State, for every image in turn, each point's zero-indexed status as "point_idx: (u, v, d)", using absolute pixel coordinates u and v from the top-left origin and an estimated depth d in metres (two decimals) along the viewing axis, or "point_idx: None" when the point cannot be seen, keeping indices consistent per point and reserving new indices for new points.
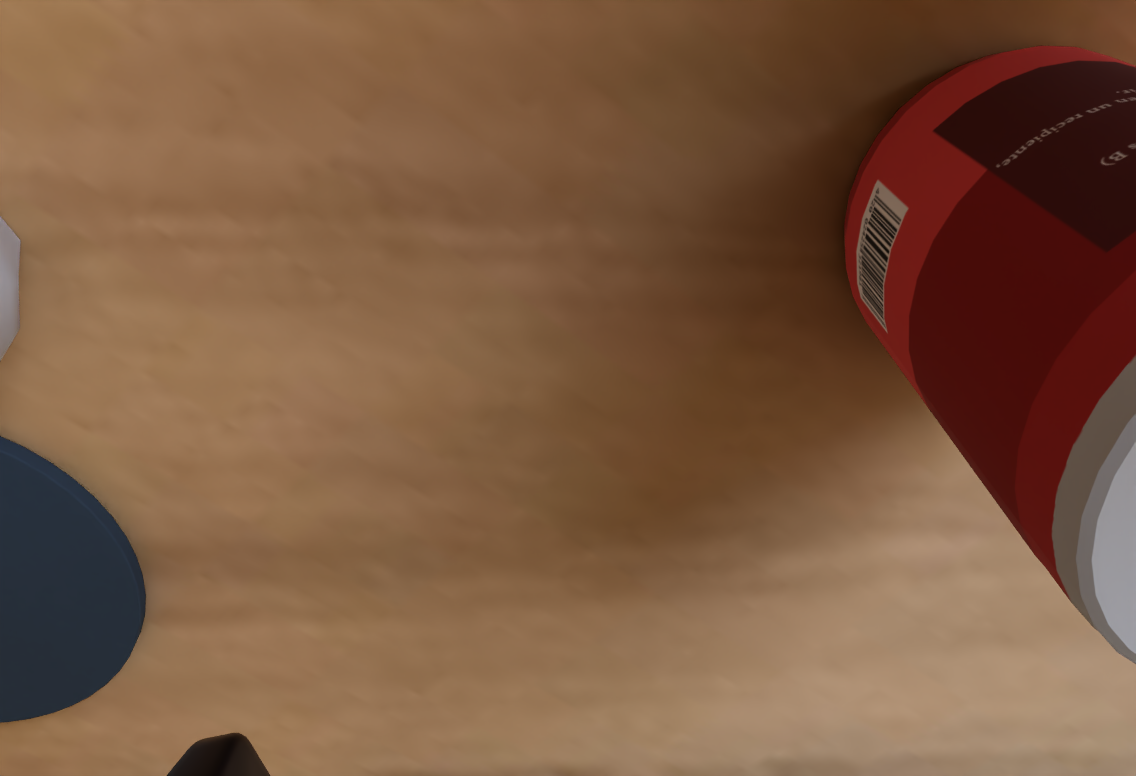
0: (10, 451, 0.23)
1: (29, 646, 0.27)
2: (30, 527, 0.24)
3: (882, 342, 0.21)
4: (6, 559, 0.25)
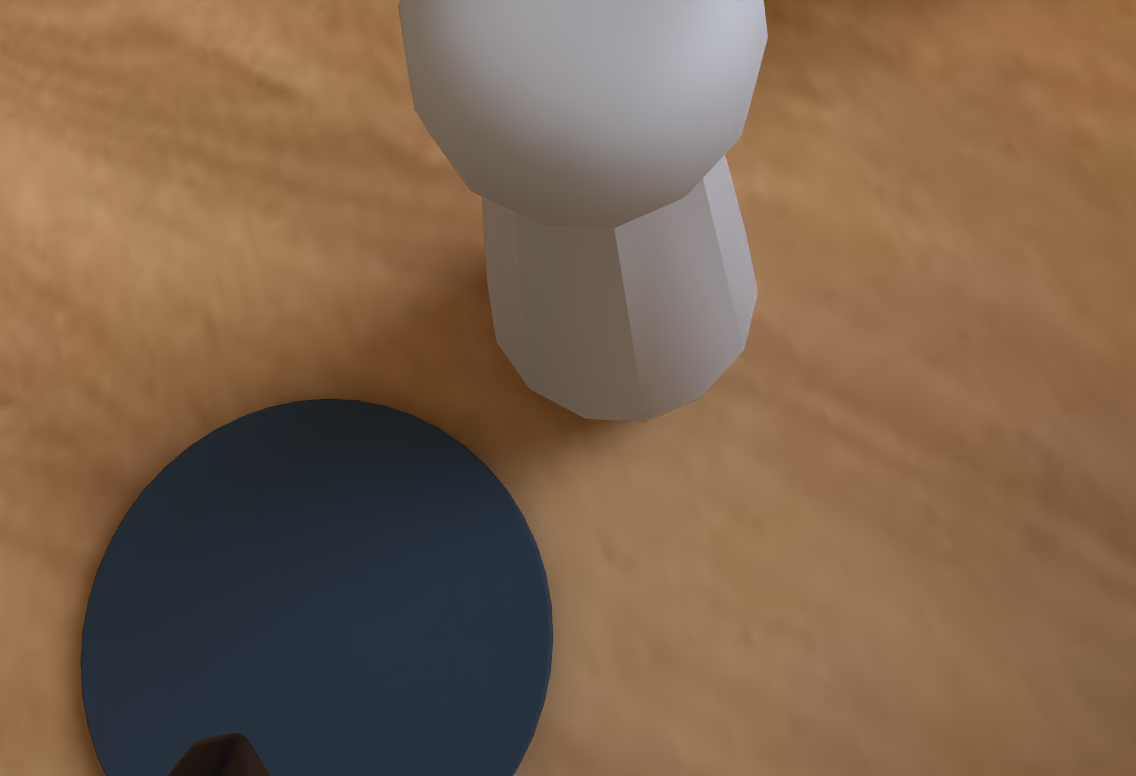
0: (529, 534, 0.21)
1: None
2: (475, 625, 0.21)
3: None
4: (417, 648, 0.21)
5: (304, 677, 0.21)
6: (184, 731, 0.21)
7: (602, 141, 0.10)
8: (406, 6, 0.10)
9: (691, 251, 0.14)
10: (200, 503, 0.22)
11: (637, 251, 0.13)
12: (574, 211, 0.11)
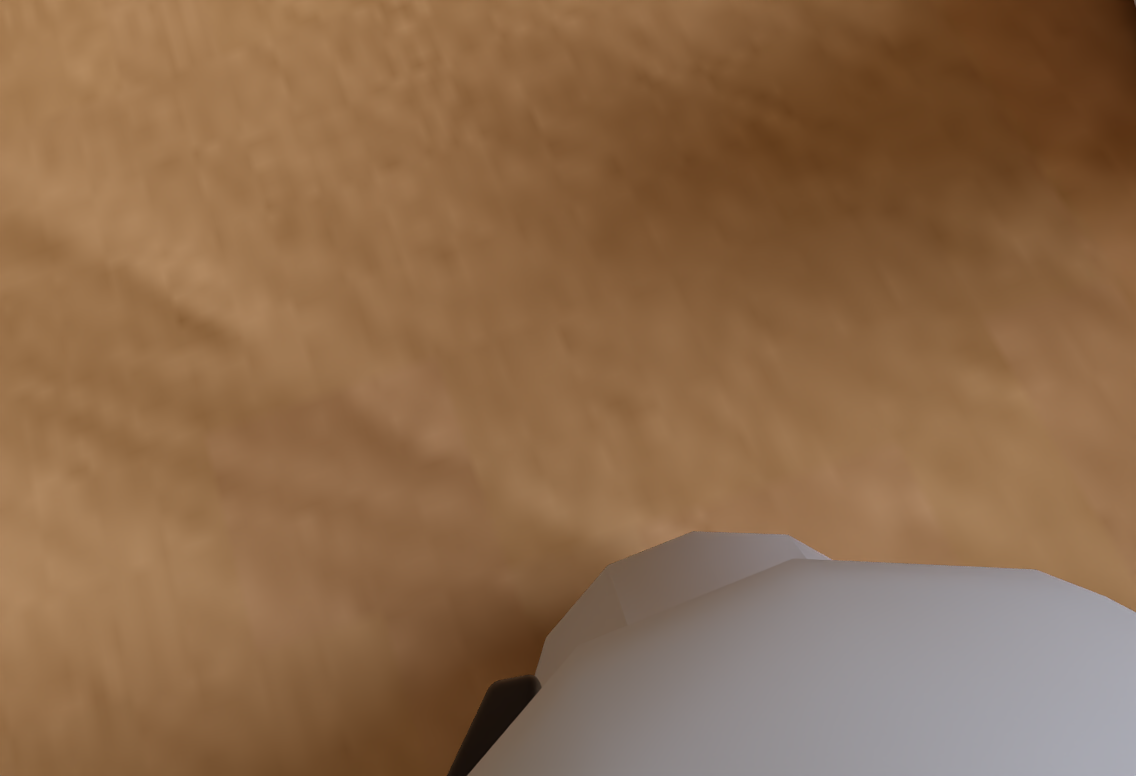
0: None
1: None
2: None
3: None
4: None
5: None
6: None
7: None
8: None
9: None
10: None
11: None
12: None
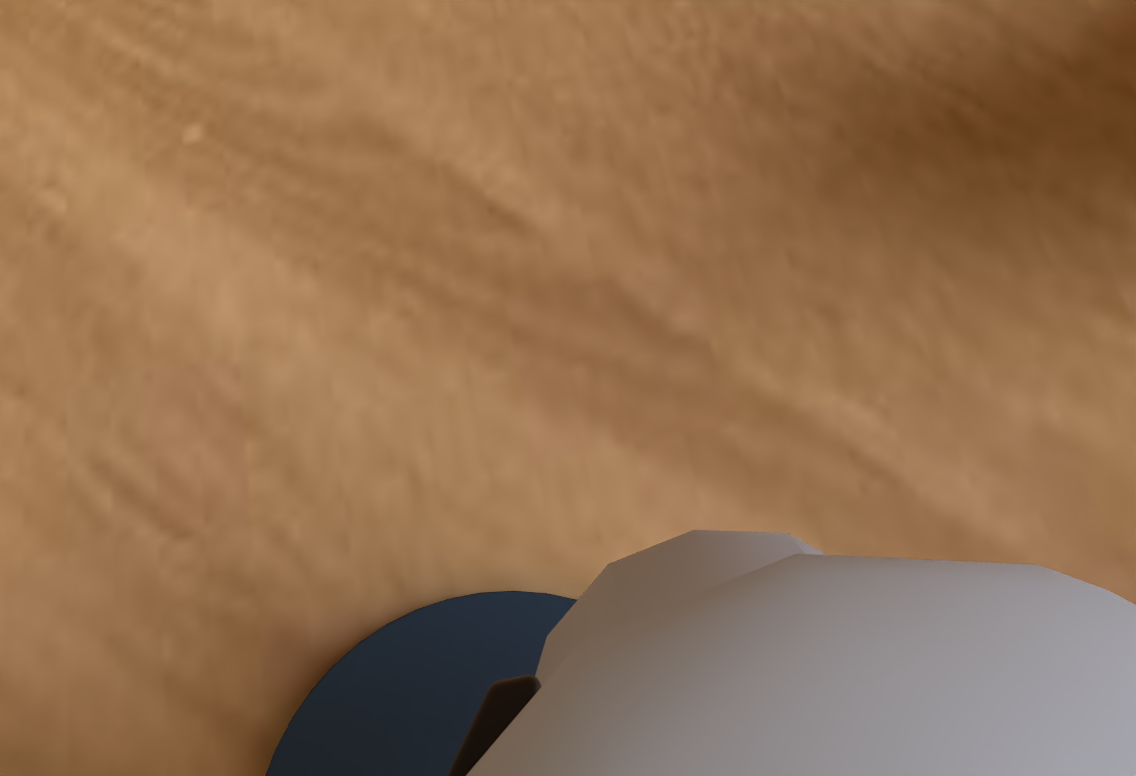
0: None
1: None
2: None
3: None
4: None
5: None
6: None
7: None
8: None
9: None
10: (394, 693, 0.20)
11: None
12: None
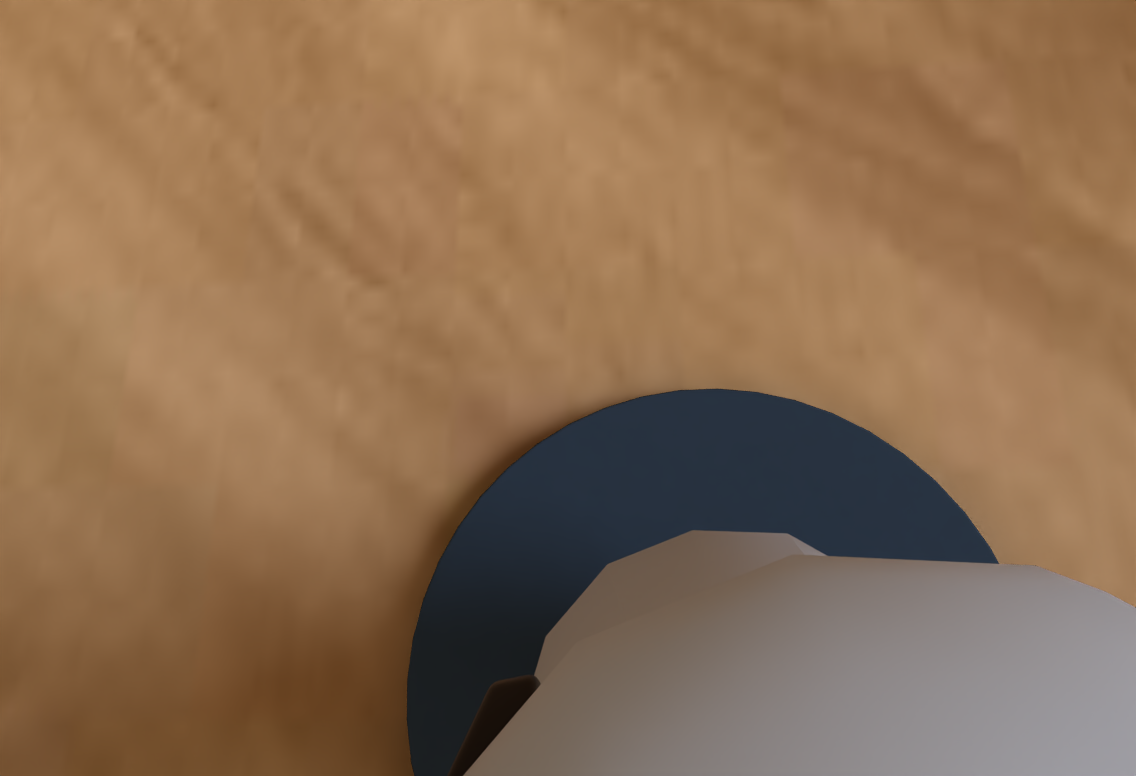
0: None
1: None
2: None
3: None
4: None
5: None
6: None
7: None
8: None
9: None
10: (605, 484, 0.17)
11: None
12: None
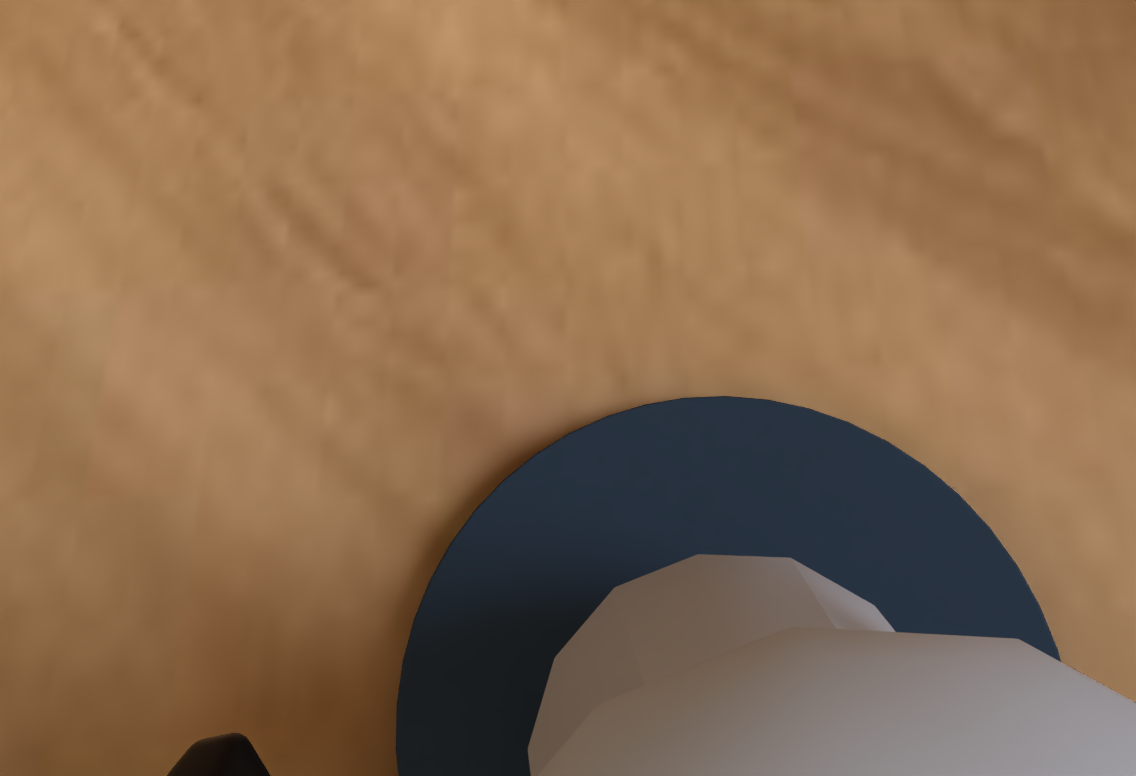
0: None
1: None
2: None
3: None
4: None
5: None
6: None
7: None
8: None
9: None
10: (607, 497, 0.16)
11: None
12: None
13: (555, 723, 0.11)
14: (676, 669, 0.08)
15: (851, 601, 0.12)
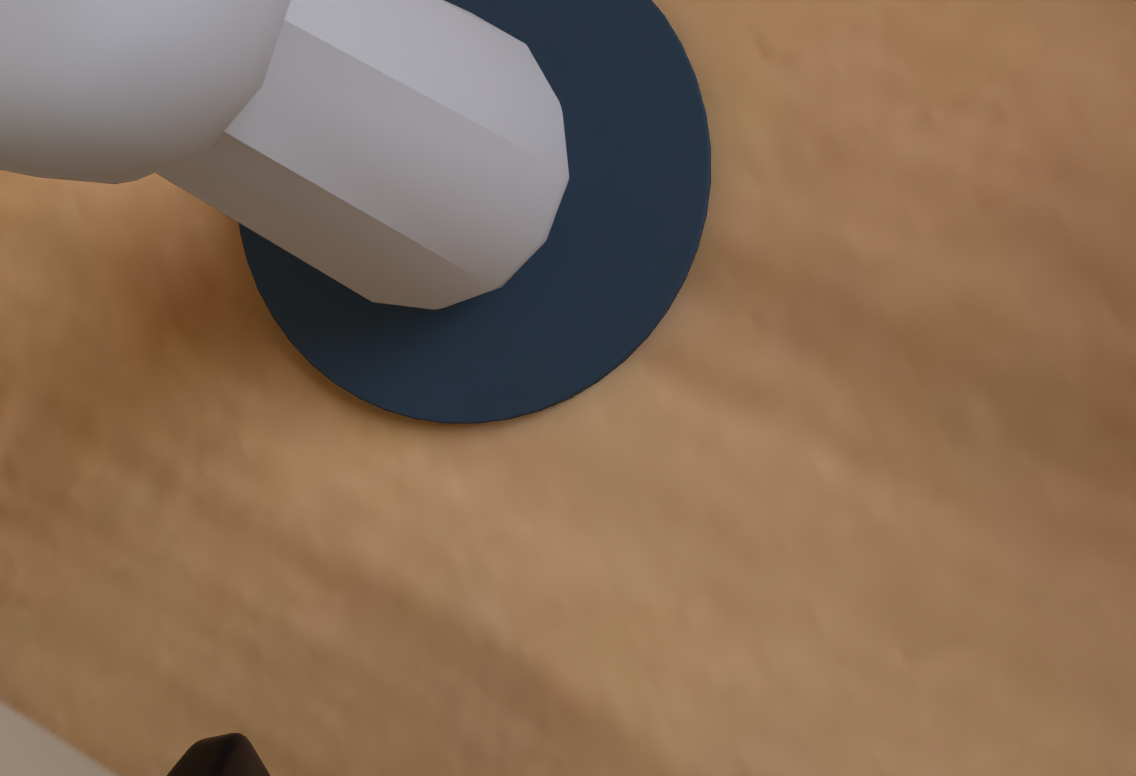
0: None
1: (497, 307, 0.20)
2: (627, 139, 0.20)
3: None
4: (569, 171, 0.20)
5: None
6: None
7: (62, 80, 0.08)
8: None
9: (385, 116, 0.12)
10: None
11: (302, 148, 0.11)
12: (128, 160, 0.09)
13: None
14: None
15: None
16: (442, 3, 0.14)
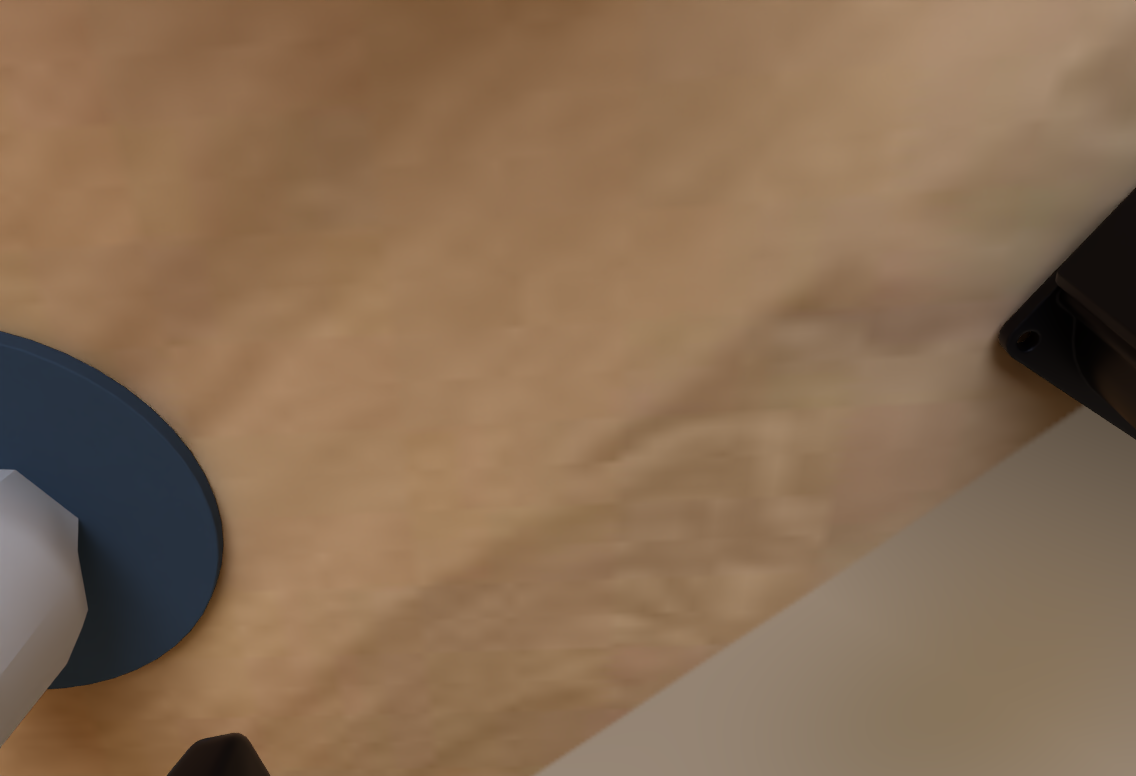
0: None
1: (115, 536, 0.23)
2: None
3: None
4: None
5: None
6: None
7: None
8: None
9: None
10: None
11: None
12: None
13: None
14: None
15: None
16: None
